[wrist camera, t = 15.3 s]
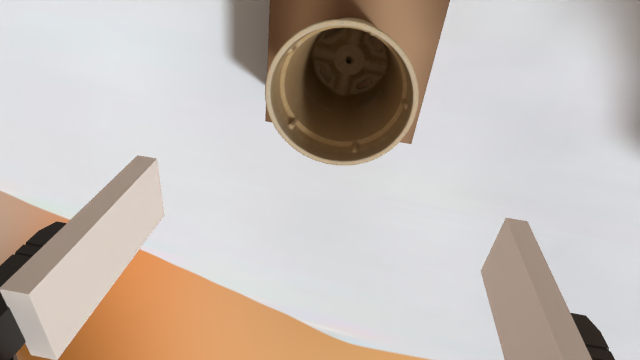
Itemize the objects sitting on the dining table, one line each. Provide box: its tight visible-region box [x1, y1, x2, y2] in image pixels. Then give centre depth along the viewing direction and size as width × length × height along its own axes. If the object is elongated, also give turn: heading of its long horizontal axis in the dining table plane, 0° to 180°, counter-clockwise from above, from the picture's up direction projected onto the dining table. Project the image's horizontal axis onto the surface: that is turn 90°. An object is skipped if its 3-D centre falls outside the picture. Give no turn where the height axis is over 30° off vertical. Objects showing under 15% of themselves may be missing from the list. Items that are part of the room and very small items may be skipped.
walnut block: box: [265, 0, 450, 144], centre depth 34 cm, size 13×13×6 cm
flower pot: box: [265, 18, 419, 165], centre depth 28 cm, size 9×9×9 cm
